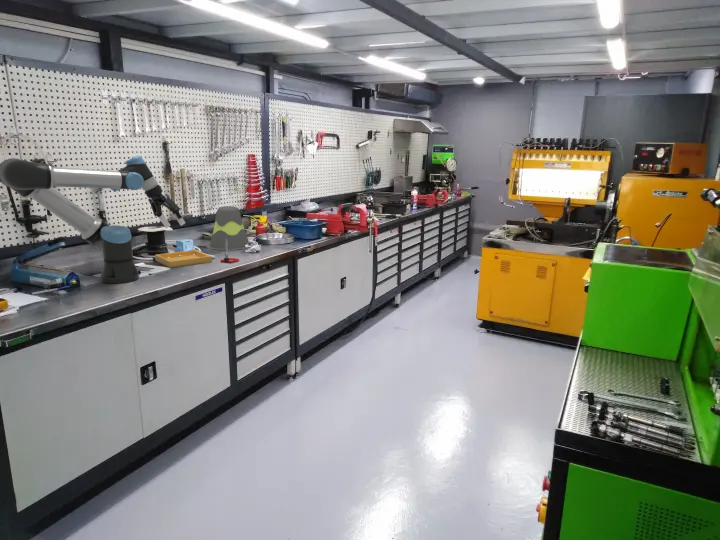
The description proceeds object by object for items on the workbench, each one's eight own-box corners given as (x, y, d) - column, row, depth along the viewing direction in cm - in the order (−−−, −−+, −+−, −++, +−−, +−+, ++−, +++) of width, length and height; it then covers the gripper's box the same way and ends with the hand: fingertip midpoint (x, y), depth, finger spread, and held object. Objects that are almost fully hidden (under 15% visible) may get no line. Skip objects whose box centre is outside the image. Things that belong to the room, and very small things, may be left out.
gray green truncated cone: (196, 248, 283) (194, 207, 278) (222, 240, 309) (221, 203, 304) (237, 252, 276) (236, 210, 270) (261, 243, 302) (260, 205, 296)
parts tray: (169, 268, 235) (169, 261, 234) (155, 260, 249) (154, 254, 248) (212, 262, 249) (211, 256, 248) (196, 255, 264) (195, 249, 263)
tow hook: (228, 259, 258) (218, 262, 250) (228, 236, 256) (218, 238, 247) (242, 261, 256) (233, 263, 247) (241, 237, 254) (232, 239, 245)
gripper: (171, 180, 221) (195, 219, 231) (144, 187, 237) (168, 224, 246) (158, 187, 217) (183, 227, 226) (132, 194, 232) (156, 231, 241)
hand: (175, 225), depth 236 cm, fingers open, 13 cm apart
